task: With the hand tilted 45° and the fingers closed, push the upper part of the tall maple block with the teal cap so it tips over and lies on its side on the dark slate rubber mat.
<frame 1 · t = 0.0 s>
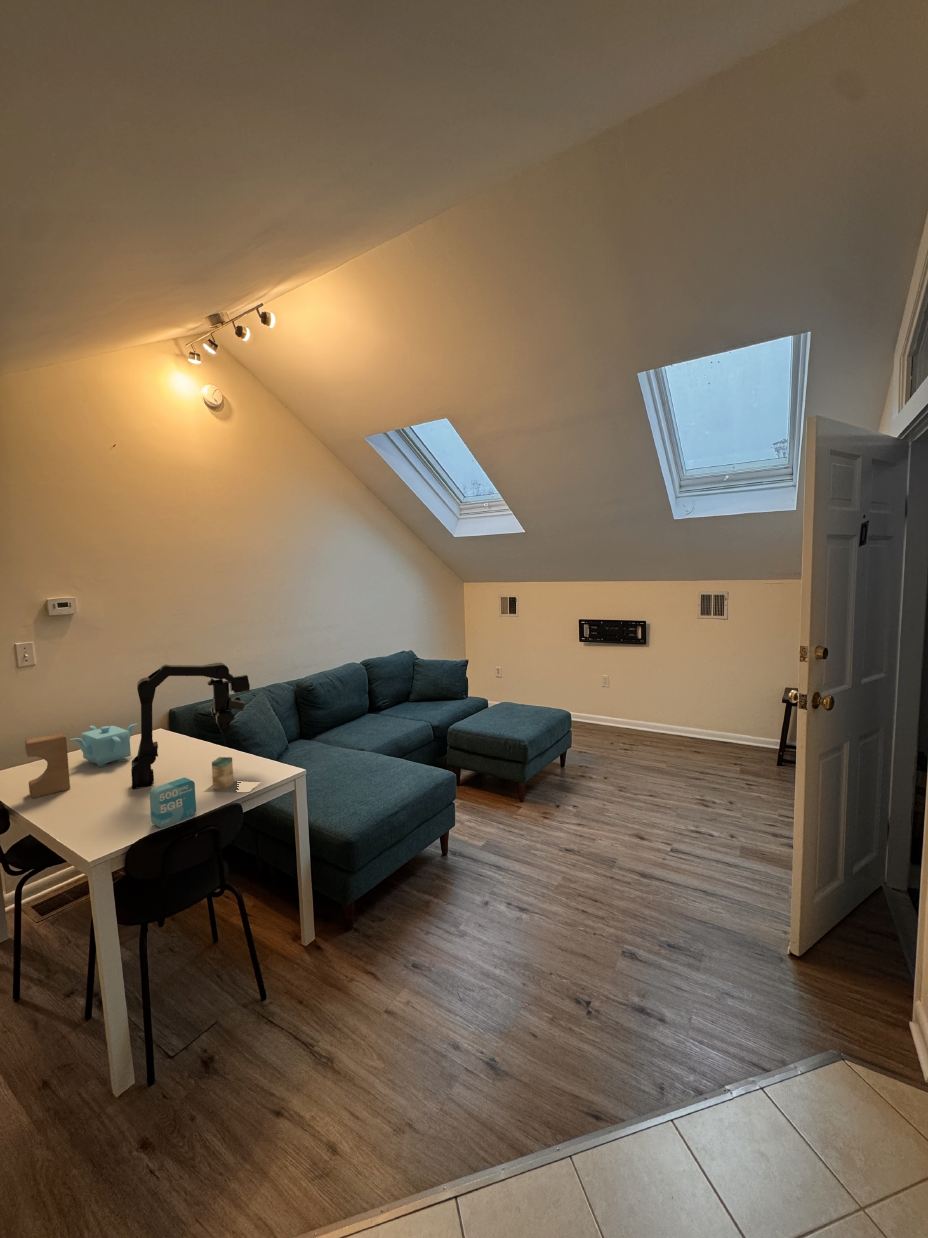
hand: (223, 732, 205), 15 cm above the table, tool pointing down, fingers open, 9 cm apart
slate mat: (233, 787, 188), on the table
decorative block: (50, 792, 185), on the table
teakettle: (106, 761, 214), on the table
maple block: (223, 786, 189), resting on slate mat
data package: (174, 820, 164), on the table
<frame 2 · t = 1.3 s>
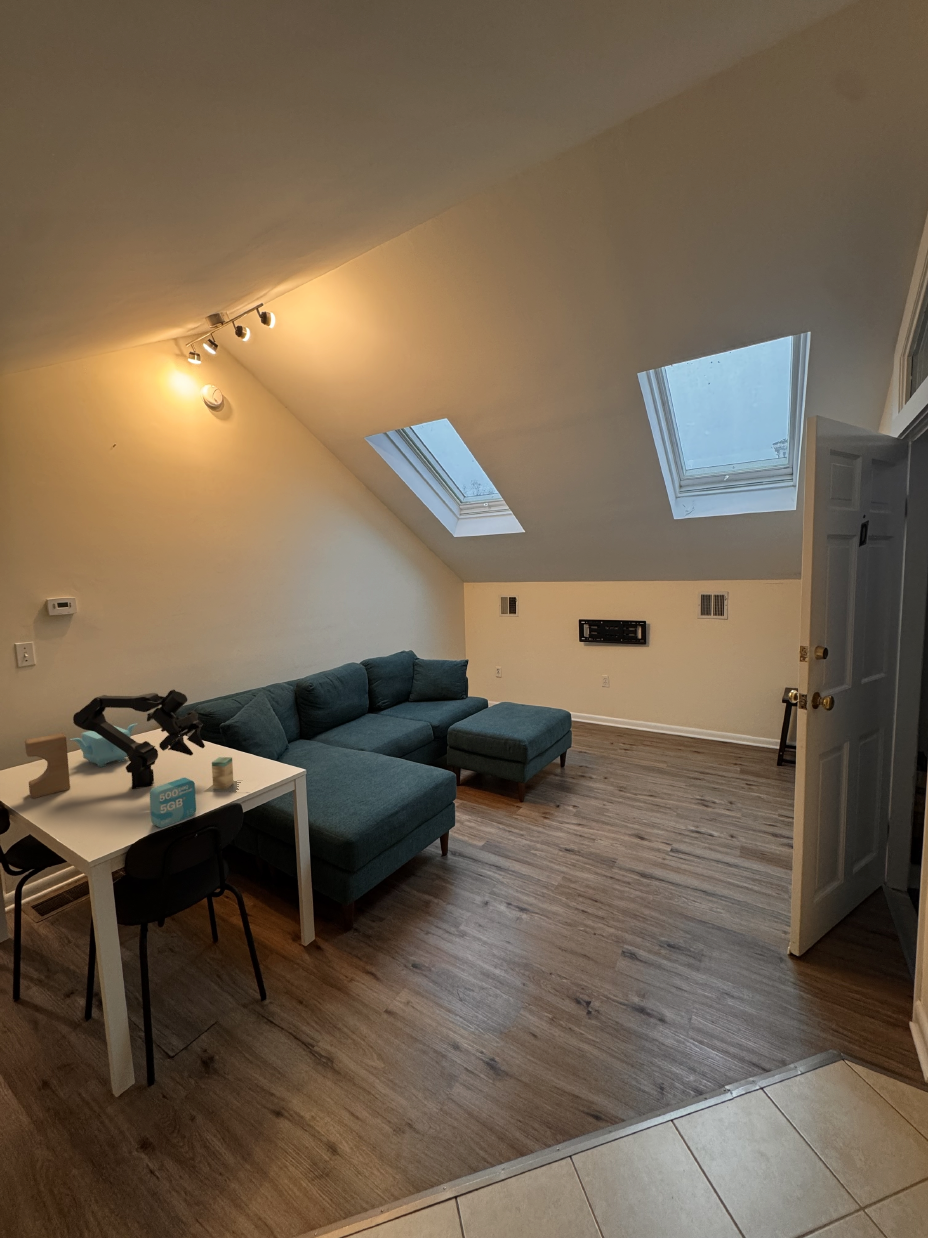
hand: (198, 751, 188), 13 cm above the table, tool tilted 45°, fingers open, 7 cm apart
nothing on the table moved.
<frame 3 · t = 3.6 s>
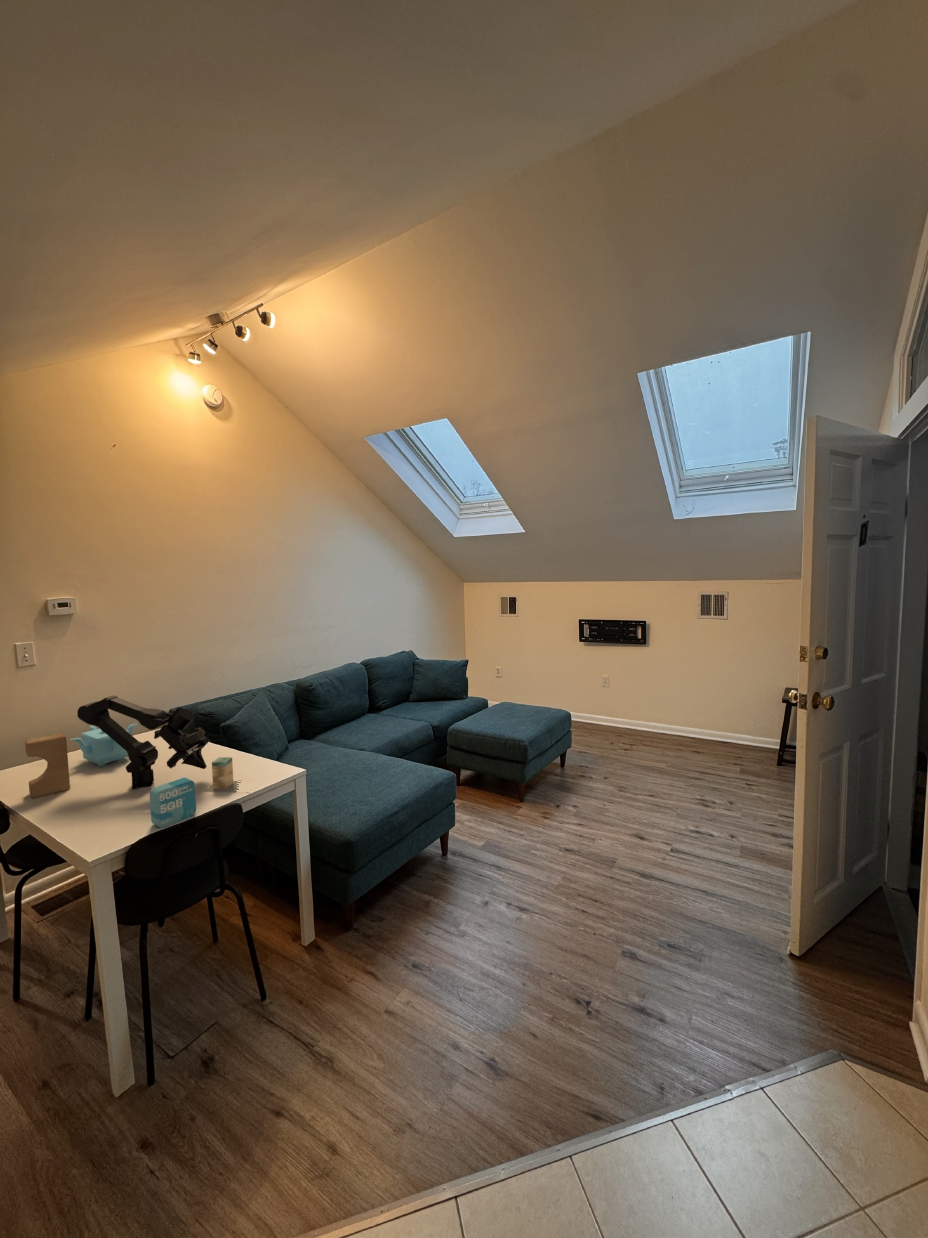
hand: (205, 768, 188), 7 cm above the table, tool tilted 45°, fingers closed
nothing on the table moved.
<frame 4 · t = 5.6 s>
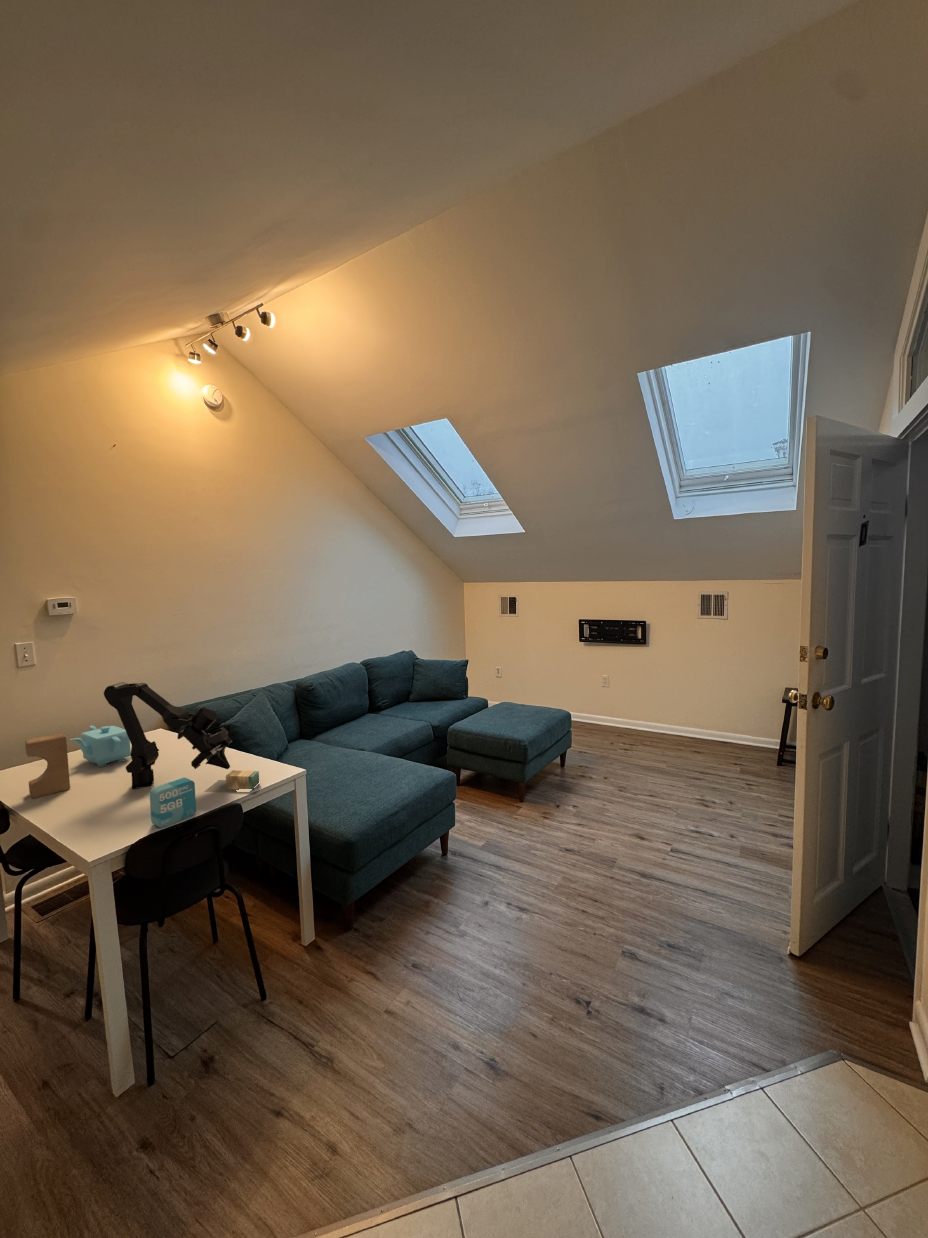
hand: (229, 768, 188), 7 cm above the table, tool tilted 45°, fingers closed
maple block: (229, 779, 188), point 3 cm above the table, tilted 90°, touching slate mat
everything else where it was.
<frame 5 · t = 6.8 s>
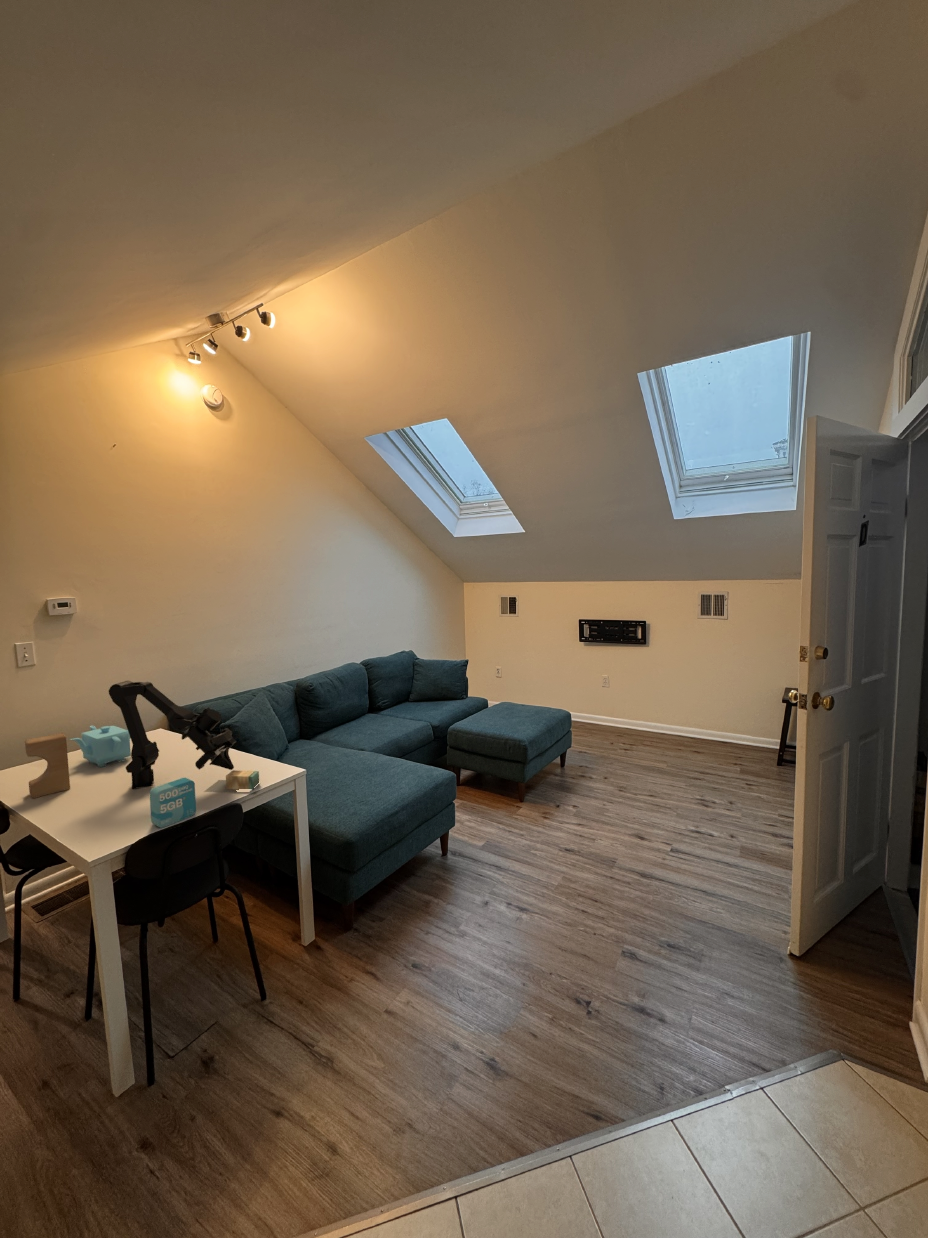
hand: (232, 768, 188), 7 cm above the table, tool tilted 45°, fingers closed
nothing on the table moved.
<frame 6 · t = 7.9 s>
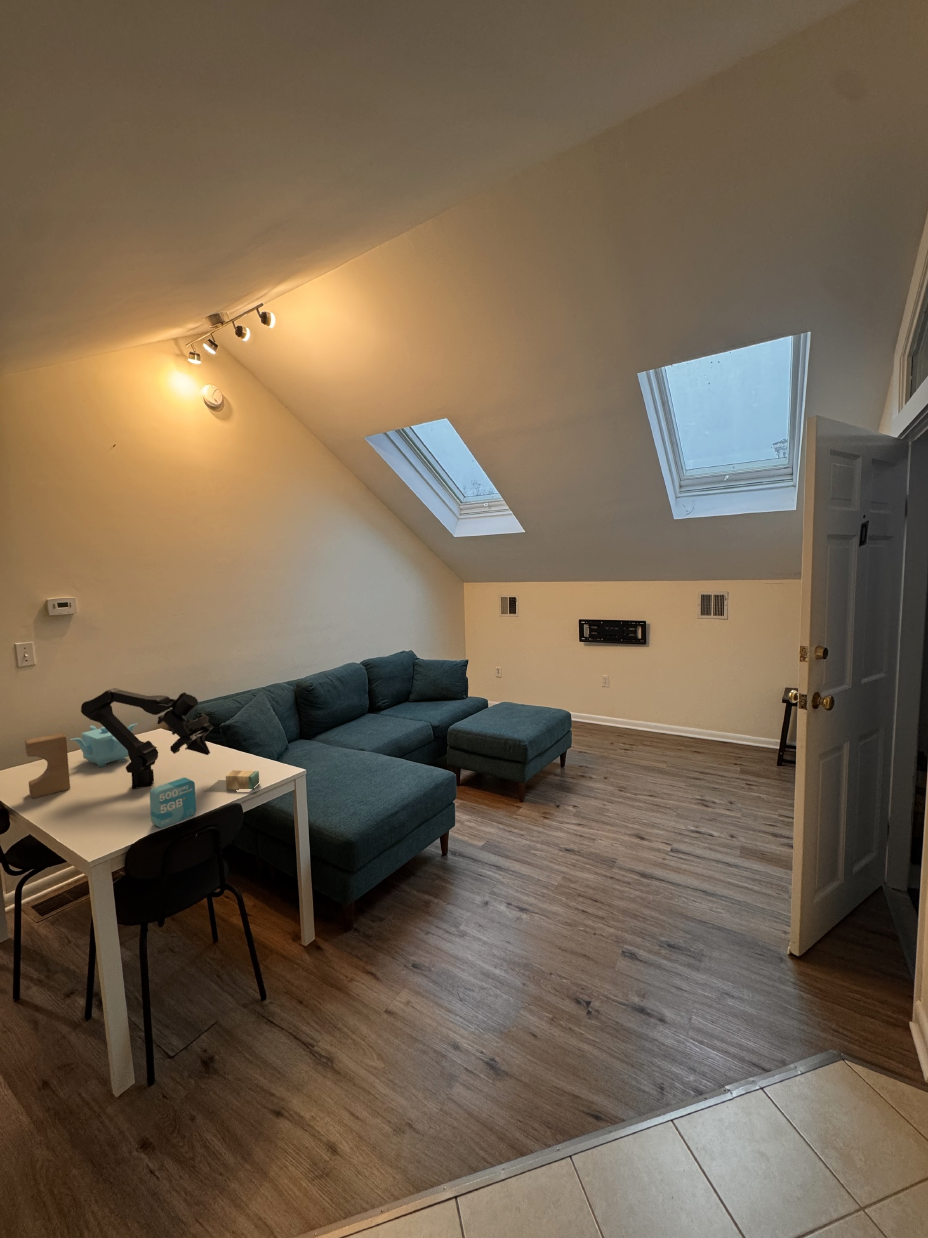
hand: (208, 754, 188), 12 cm above the table, tool tilted 45°, fingers closed
nothing on the table moved.
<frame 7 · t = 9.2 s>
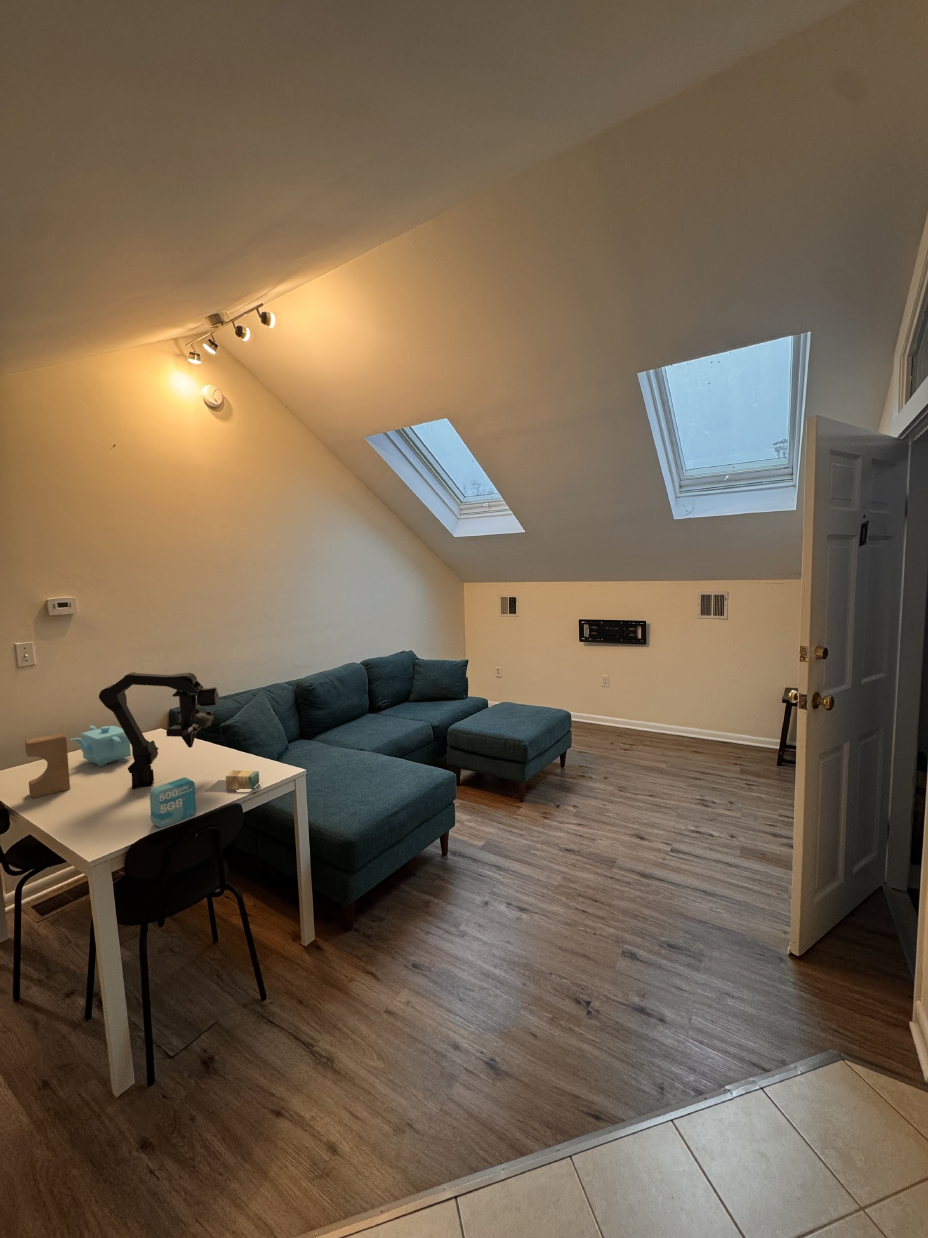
hand: (190, 747, 193), 13 cm above the table, tool pointing down, fingers closed
nothing on the table moved.
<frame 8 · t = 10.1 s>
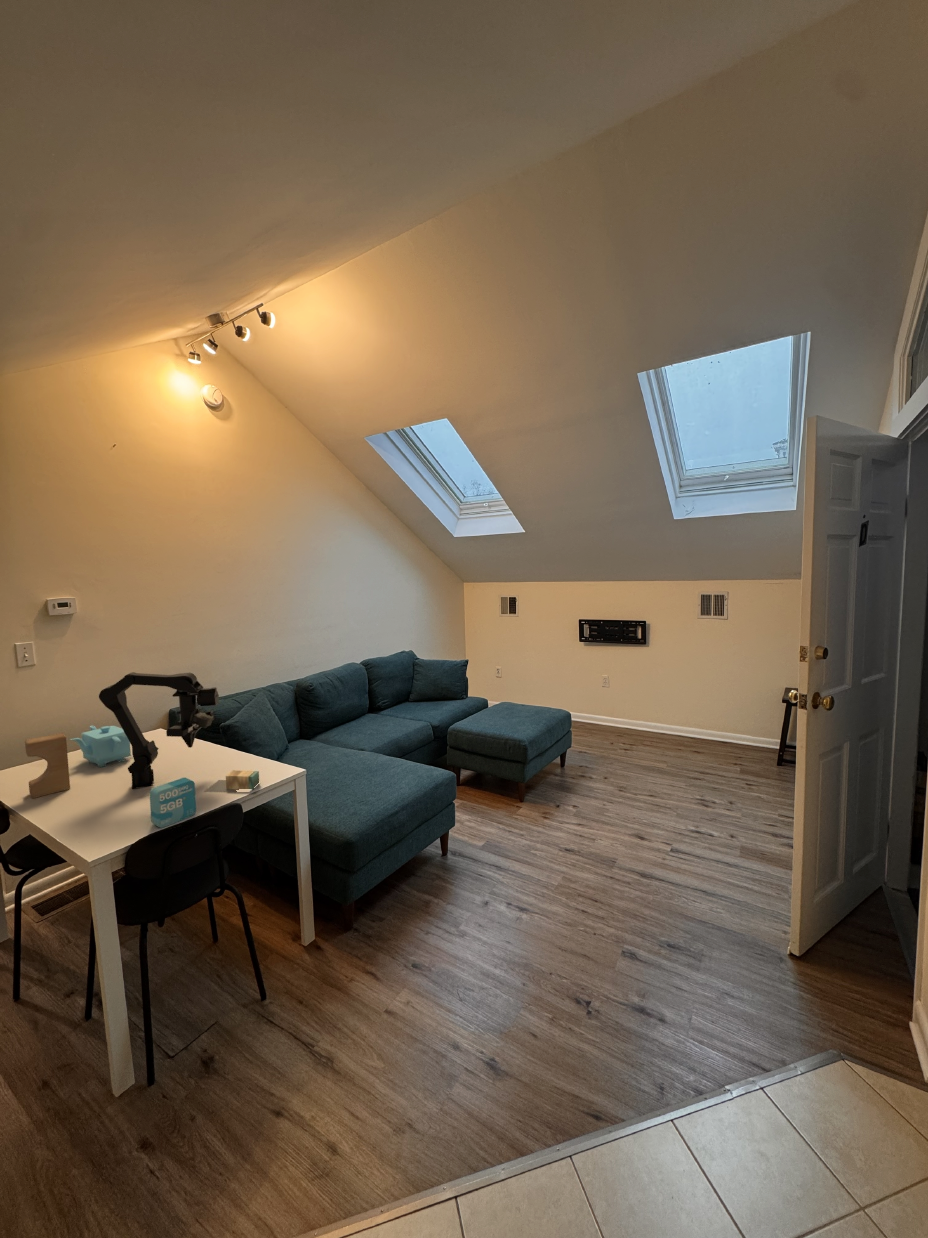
hand: (190, 747, 193), 13 cm above the table, tool pointing down, fingers closed
nothing on the table moved.
at the end: maple block tilted 90°; maple block inside the target area on the slate mat (1.5 cm from its centre), point 2.9 cm above the slate mat's base; the gripper is holding nothing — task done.
